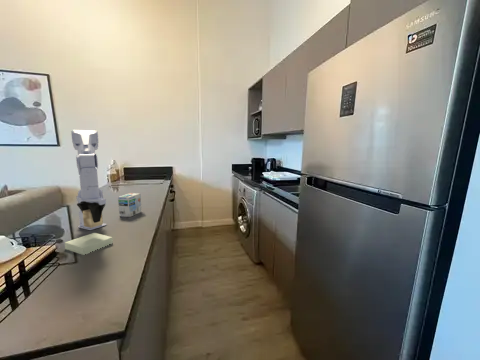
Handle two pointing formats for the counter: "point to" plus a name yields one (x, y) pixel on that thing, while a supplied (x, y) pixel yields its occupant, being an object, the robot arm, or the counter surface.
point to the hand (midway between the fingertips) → (92, 221)
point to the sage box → (88, 243)
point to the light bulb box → (129, 204)
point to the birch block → (90, 219)
